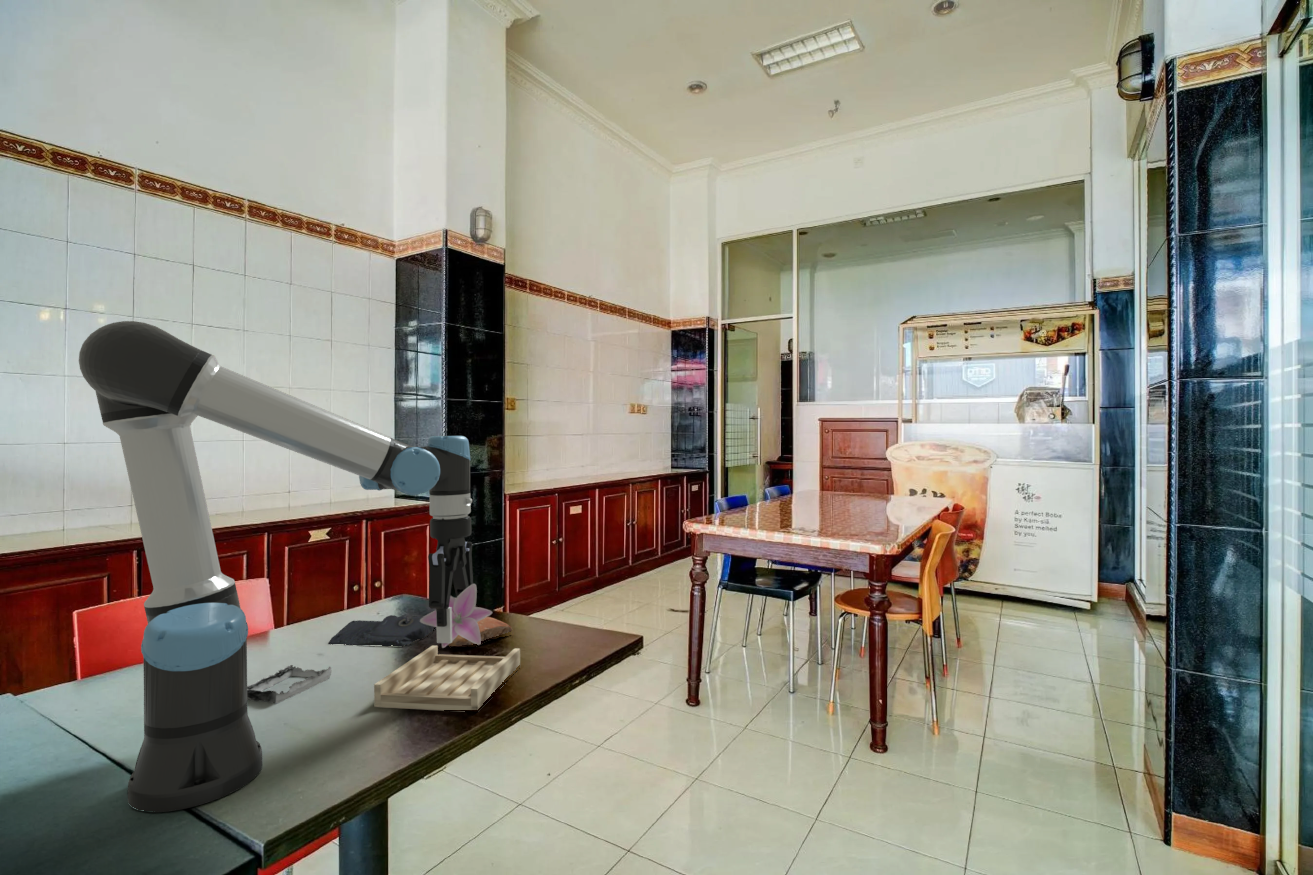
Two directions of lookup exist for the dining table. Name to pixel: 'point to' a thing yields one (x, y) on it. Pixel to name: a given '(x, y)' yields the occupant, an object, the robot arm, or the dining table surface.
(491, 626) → the ceramic shard
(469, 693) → the drying rack
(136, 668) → the dining table surface
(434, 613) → the lily
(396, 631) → the dark block with eyelet
